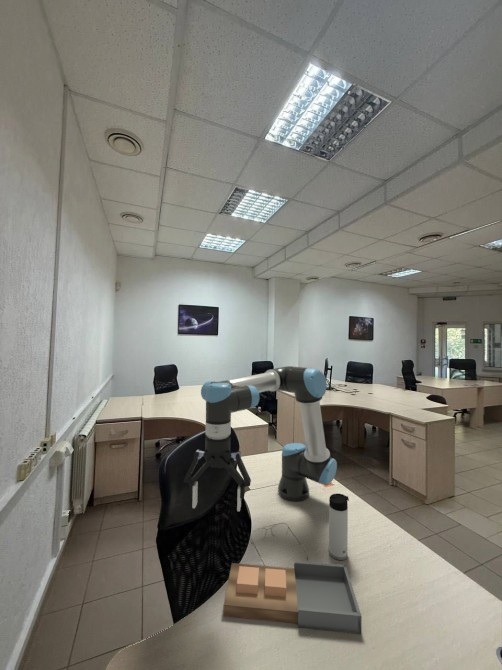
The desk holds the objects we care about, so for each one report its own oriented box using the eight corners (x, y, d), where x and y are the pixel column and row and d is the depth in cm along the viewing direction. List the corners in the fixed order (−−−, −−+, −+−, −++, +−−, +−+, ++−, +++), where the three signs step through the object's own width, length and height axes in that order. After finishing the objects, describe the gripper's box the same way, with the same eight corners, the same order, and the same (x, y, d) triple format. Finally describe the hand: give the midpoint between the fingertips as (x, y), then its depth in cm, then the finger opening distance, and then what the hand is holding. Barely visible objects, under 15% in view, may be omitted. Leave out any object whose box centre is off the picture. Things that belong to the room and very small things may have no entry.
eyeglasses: (286, 532, 108) (286, 519, 108) (308, 561, 94) (308, 546, 94) (248, 544, 102) (248, 530, 102) (266, 576, 88) (266, 560, 88)
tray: (294, 575, 88) (294, 560, 88) (345, 579, 86) (345, 565, 86) (298, 627, 72) (298, 609, 72) (361, 633, 70) (361, 616, 71)
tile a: (239, 574, 84) (239, 566, 84) (258, 576, 84) (259, 567, 84) (236, 592, 78) (236, 583, 78) (257, 594, 78) (257, 585, 78)
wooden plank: (231, 572, 89) (231, 563, 89) (294, 577, 87) (294, 568, 87) (223, 615, 75) (223, 604, 75) (298, 623, 73) (298, 611, 73)
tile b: (265, 576, 84) (265, 568, 84) (285, 578, 83) (285, 570, 83) (264, 594, 78) (264, 585, 78) (286, 596, 77) (286, 587, 77)
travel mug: (349, 562, 93) (350, 502, 93) (329, 559, 94) (329, 500, 95) (347, 548, 99) (347, 492, 100) (328, 545, 101) (328, 490, 101)
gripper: (173, 438, 80) (171, 512, 80) (258, 441, 78) (257, 517, 78) (181, 429, 87) (180, 497, 87) (259, 432, 85) (258, 502, 85)
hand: (216, 507), depth 82 cm, fingers open, 13 cm apart
